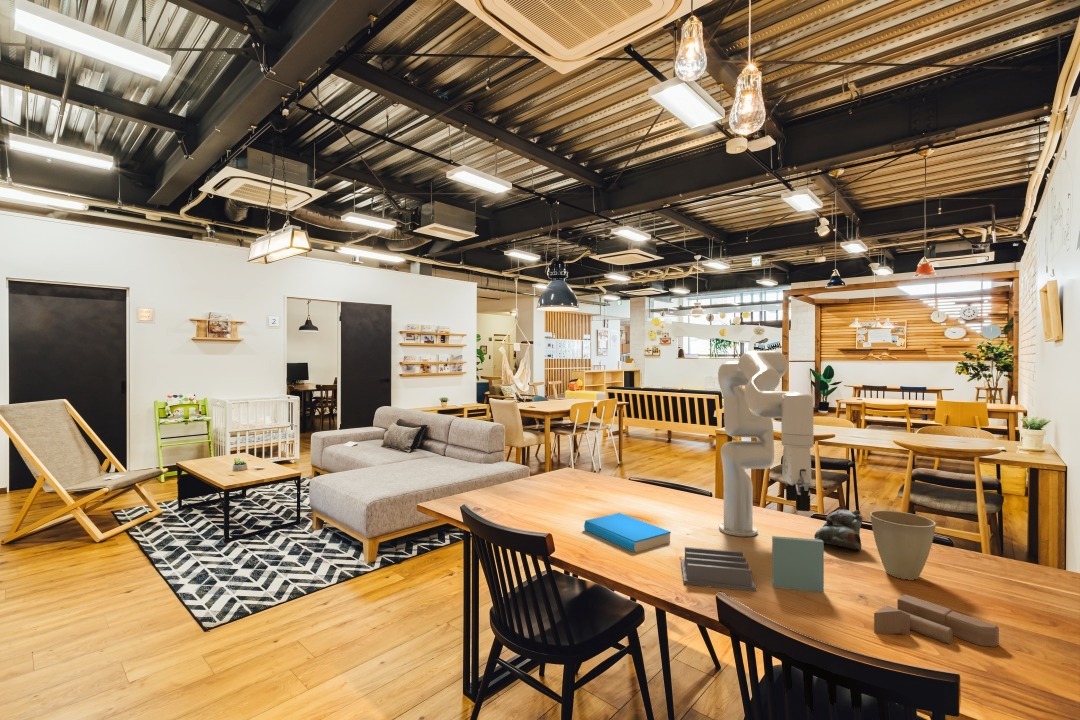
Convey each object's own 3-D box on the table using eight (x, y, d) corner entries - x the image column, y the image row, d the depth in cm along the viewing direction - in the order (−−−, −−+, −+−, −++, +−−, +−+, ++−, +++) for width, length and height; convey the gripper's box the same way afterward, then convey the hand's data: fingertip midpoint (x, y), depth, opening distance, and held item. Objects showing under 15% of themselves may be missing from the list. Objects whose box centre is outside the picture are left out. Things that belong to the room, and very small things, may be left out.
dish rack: (681, 562, 147) (681, 545, 147) (745, 568, 143) (745, 550, 143) (684, 584, 133) (684, 565, 133) (756, 591, 129) (756, 572, 129)
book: (619, 512, 185) (671, 530, 165) (619, 524, 185) (671, 543, 165) (583, 520, 176) (634, 540, 155) (583, 532, 176) (634, 554, 155)
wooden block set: (900, 588, 120) (999, 619, 105) (900, 611, 120) (999, 647, 105) (868, 606, 110) (972, 644, 95) (868, 632, 110) (972, 674, 95)
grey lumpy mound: (804, 540, 166) (811, 500, 171) (836, 554, 166) (843, 513, 171) (836, 542, 152) (843, 498, 157) (871, 557, 152) (878, 513, 157)
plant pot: (945, 590, 130) (945, 529, 130) (878, 581, 135) (878, 522, 135) (923, 568, 144) (923, 513, 144) (864, 561, 149) (864, 507, 149)
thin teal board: (772, 584, 133) (772, 536, 133) (821, 589, 130) (821, 539, 130) (773, 587, 131) (773, 538, 131) (823, 592, 129) (823, 541, 129)
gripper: (774, 435, 140) (774, 496, 140) (790, 444, 123) (790, 514, 123) (803, 436, 139) (803, 498, 138) (823, 445, 122) (824, 516, 121)
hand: (797, 505), depth 131 cm, fingers open, 9 cm apart
